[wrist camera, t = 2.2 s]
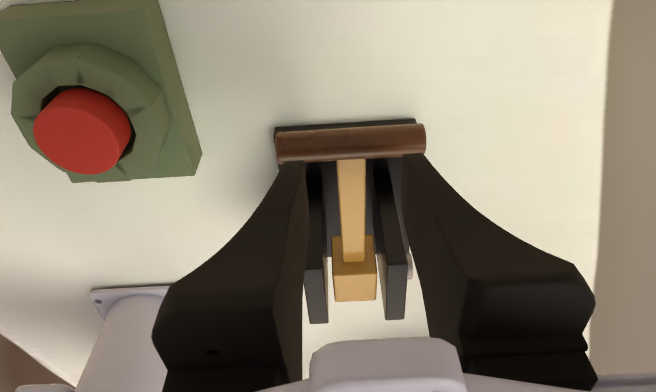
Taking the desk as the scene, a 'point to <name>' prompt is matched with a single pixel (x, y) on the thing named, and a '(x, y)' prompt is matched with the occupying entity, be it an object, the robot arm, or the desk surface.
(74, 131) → the button
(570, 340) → the robot arm
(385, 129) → the lever
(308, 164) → the bracket
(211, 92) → the desk surface
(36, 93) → the button block
